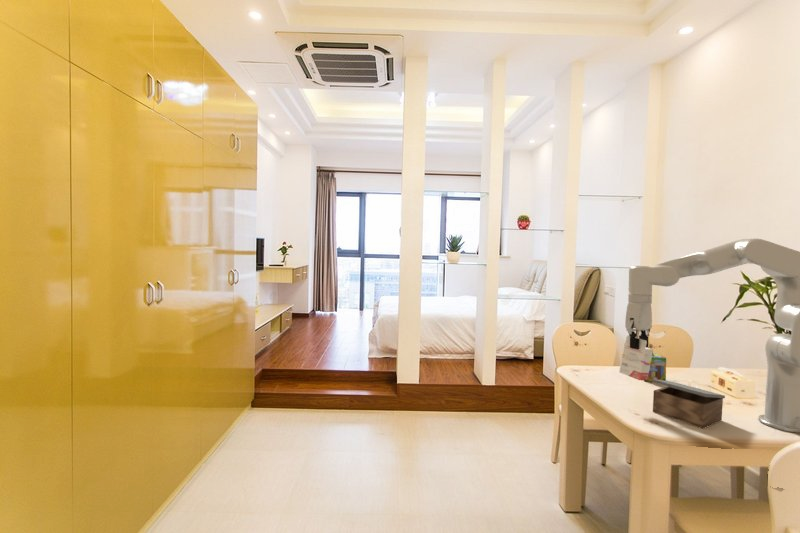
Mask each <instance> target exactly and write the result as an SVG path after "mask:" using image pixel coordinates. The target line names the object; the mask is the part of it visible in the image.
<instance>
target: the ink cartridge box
mask: <svg viewBox="0 0 800 533" xmlns="http://www.w3.org/2000/svg"><path fill="white" fill-rule="evenodd" d="M639 342H640V343H639V349H633V348H630V337H629V334H628V335H626V339H625V342H624V345H623V350H622V354H621V355H622V356H621V360H620V364H619V365H620V366H619V369H618V372H619V373H620V374H623V375H625V376H628V377H630V378H633V379H635V380H637V381H643V380H648V374H649V369H650V364H651V359H652V354H654V353H653V352H654V349H653V348H651V347H649V348H648V347H646V344H647V341H646V340H642V339H639ZM650 348H651V349H650Z"/></svg>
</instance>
